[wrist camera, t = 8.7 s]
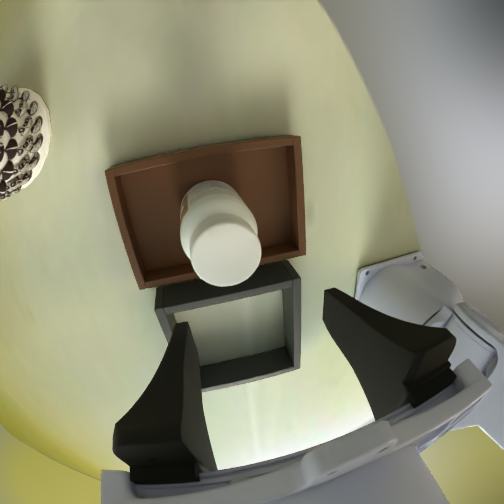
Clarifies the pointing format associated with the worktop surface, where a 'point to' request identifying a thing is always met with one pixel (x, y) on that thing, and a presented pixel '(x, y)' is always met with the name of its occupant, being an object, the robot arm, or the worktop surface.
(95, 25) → the worktop surface
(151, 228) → the tray
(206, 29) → the worktop surface
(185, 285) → the dark grey square frame
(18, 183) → the decorative candle
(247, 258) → the pill bottle
